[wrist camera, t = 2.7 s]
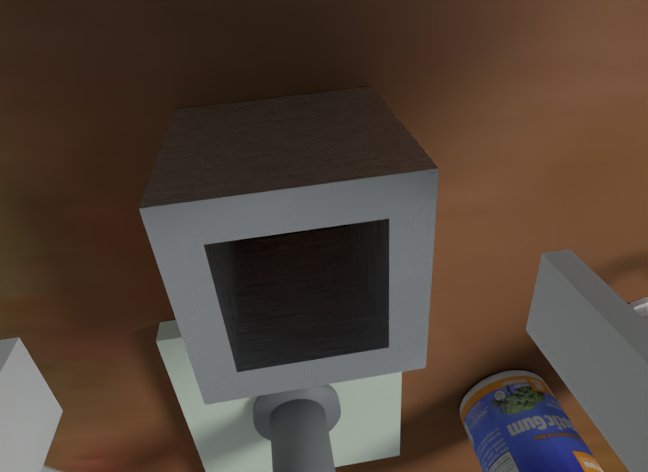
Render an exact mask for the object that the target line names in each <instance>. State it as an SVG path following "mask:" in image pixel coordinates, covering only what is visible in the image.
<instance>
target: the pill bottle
mask: <svg viewBox="0 0 648 472" xmlns="http://www.w3.org/2000/svg"><path fill="white" fill-rule="evenodd" d="M460 417H461V421H462V424H463V426H464V428H465V431H466V433H467V435H468V438H469V440H470V442H471V444H472V447H473V449H474V451H475V454H476V456H477V458H478V460H479V463H480V465H481V467H482V470H483V472H604V471H603V470H602V469H601V467H600V466H599V464H598V462H597V461H596V459H595V458H594V456H593V455H592V453H591V452H590V450H589V449H588V447H587V446H586V444H585V443H584V441H583V440H582V438H581V437H580V435H579V434H578V432H577V430H576V429H575V427H574V426H573V424H572V423H571V421H570V420H569V418H568V417H567V415H566V413H565V412H564V410H563V409H562V407H561V406H560V404H559V403H558V401H557V400H556V398H555V396H554V395H553V393H552V392H551V390H550V389H549V387H548V386H547V384H546V383H545V382H544V380H543V379H542V378H540V377H539V376H538V375H536V374H534V373H531V372H528V371H522V370H510V371H504V372H500V373H497V374H494V375H492V376H490V377H487V378H486V379H484V380H482V381H481V382H479V383H478V384H476V385H475V386H474V387H473V388H472V389H471V390H470V391H469V392H468V393H467V394H466V395H465V397H464V398H463V400H462V402H461V405H460Z"/></svg>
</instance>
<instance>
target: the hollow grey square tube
mask: <svg viewBox="0 0 648 472" xmlns="http://www.w3.org/2000/svg"><path fill="white" fill-rule="evenodd" d="M438 173H439V168H438V167H437V166H436V164H435V163H434V162H433V161H432V159H431V158H430V157H429V156H428V155H427V153H426V152H425V151H424V150H423V148H422V147H421V146H420V145H419V144H418V142H417V141H416V140H415V139H414V137H413V136H412V135H411V134H410V133H409V131H408V130H407V129H406V128H405V126H404V125H403V124H402V123H401V121H400V120H399V119H398V118H397V117H396V115H395V114H394V113H393V112H392V110H391V109H390V108H389V107H388V106H387V104H386V103H385V102H384V101H383V99H382V98H381V97H380V96H379V95H378V93H377V92H376V91H375V90H374V88H373V87H372V86H370V87H361V88H353V89H344V90H336V91H328V92H319V93H311V94H302V95H294V96H285V97H277V98H269V99H260V100H252V101H243V102H235V103H226V104H218V105H210V106H201V107H193V108H184V109H176V110H174V113H173V116H172V119H171V121H170V124H169V127H168V130H167V132H166V135H165V138H164V141H163V143H162V146H161V149H160V152H159V154H158V157H157V160H156V163H155V165H154V168H153V171H152V174H151V176H150V179H149V182H148V185H147V187H146V190H145V193H144V196H143V198H142V201H141V204H140V207H139V211H140V214H141V217H142V220H143V223H144V226H145V229H146V232H147V235H148V238H149V241H150V244H151V247H152V250H153V253H154V256H155V259H156V262H157V265H158V268H159V270H160V273H161V276H162V279H163V282H164V285H165V288H166V291H167V294H168V297H169V300H170V303H171V306H172V309H173V312H174V315H175V318H176V321H177V324H178V327H179V330H180V333H181V336H182V339H183V342H184V345H185V348H186V351H187V354H188V357H189V360H190V363H191V366H192V368H193V371H194V374H195V377H196V380H197V383H198V386H199V389H200V392H201V395H202V398H203V401H204V404H205V405H208V404H214V403H220V402H226V401H231V400H237V399H243V398H249V397H255V396H261V395H267V394H273V393H279V392H285V391H291V390H297V389H303V388H309V387H315V386H321V385H326V384H332V383H338V382H344V381H350V380H356V379H362V378H368V377H374V376H380V375H386V374H392V373H398V372H404V371H410V370H416V369H422V368H426V356H427V341H428V326H429V310H430V295H431V280H432V265H433V249H434V234H435V219H436V204H437V189H438ZM346 224H347V227H340V228H333V229H326V230H319V231H311V232H304V233H297V234H290V235H283V236H276V237H269V238H262V239H255V240H248V241H241V242H238V240H241V239H248V238H255V237H262V236H269V235H276V234H283V233H290V232H297V231H304V230H311V229H318V228H325V227H332V226H339V225H346Z"/></svg>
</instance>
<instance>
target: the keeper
mask: <svg viewBox="0 0 648 472" xmlns="http://www.w3.org/2000/svg"><path fill="white" fill-rule="evenodd" d="M156 343H157V346H158V348H159V351H160V354H161V356H162V359H163V361H164V364H165V367H166V369H167V372H168V374H169V377H170V380H171V382H172V385H173V388H174V390H175V393H176V395H177V398H178V401H179V403H180V406H181V408H182V411H183V414H184V416H185V419H186V422H187V424H188V427H189V429H190V432H191V435H192V437H193V440H194V442H195V445H196V448H197V450H198V453H199V456H200V458H201V461H202V463H203V466H204V469H205V471H206V472H336V471H335V467H339V466H344V465H350V464H355V463H361V462H366V461H372V460H377V459H383V458H388V457H394V456H399V455H400V423H401V382H402V372H398V373H392V374H386V375H380V376H374V377H368V378H362V379H356V380H350V381H344V382H338V383H332V384H326V385H321V386H315V387H309V388H303V389H297V390H291V391H285V392H279V393H273V394H267V395H261V396H255V397H249V398H243V399H237V400H231V401H226V402H220V403H214V404H208V405H205V404H204V401H203V398H202V395H201V392H200V389H199V386H198V383H197V380H196V377H195V374H194V371H193V368H192V366H191V363H190V360H189V357H188V354H187V351H186V348H185V345H184V342H183V339H182V336H181V333H180V330H179V327H178V324H177V321H176V320H171V321H165V322H160V324H159V329H158V334H157V338H156Z"/></svg>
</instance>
